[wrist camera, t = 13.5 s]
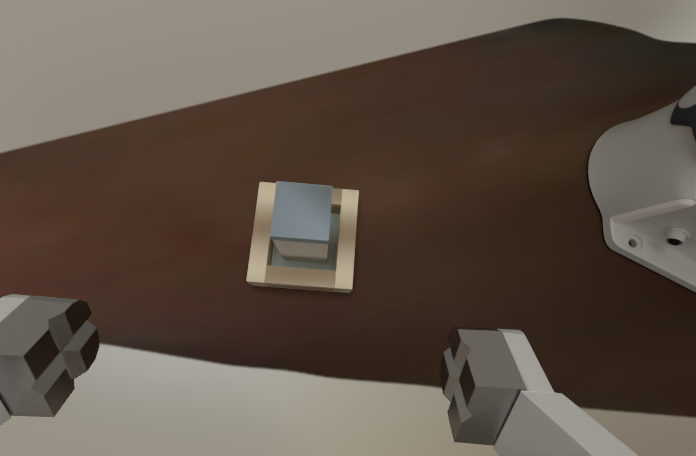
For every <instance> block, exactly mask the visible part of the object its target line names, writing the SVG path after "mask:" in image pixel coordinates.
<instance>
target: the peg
mask: <svg viewBox="0 0 696 456" xmlns="http://www.w3.org/2000/svg"><path fill="white" fill-rule="evenodd" d="M332 193H333V186H326V185H314V184H303V183H292V182H280V181H277V182H276V190H275V198H274V206H273V214H272V222H271V230H270V237H271V239H272V240H273V242H274V243H275V245H276V247H277V249H278V250H279V252H280V254H281V256H282V257H283V259H284V260H288V261H300V262H313V263H326V264H327V254H328V242H329V230H330V217H331V205H332Z"/></svg>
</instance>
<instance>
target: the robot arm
mask: <svg viewBox="0 0 696 456" xmlns="http://www.w3.org/2000/svg"><path fill="white" fill-rule="evenodd" d="M588 177H589V183H590V188H591V191H592V194H593V197H594V199H595V201H596V203H597V205H598V207H599V209H600V212H601V215H602V218H603V232H604V238H605V241H606V244H607V245H608V246H609V248H611V249H612V250H614V251H615V252H617V253H619V254H621V255H623V256H625V257H627V258H629V259H631V260H633V261H635V262H637V263H639V264H641V265H643V266H645V267H647V268H649V269H651V270H653V271H655V272H657V273H659V274H661V275H663V276H665V277H667V278H669V279H671V280H672V281H674V282H676V283H678V284H680V285H682V286H684V287H686V288H688V289H690V290H692V291H694V292H696V86H694V87H693V88H692V89H690V90H689V91H688V92H687V93H686V94H685V95H684V96H683V97H682V98H681V99H680V100H678V101H676V102H674V103H672V104H670V105H668V106H666V107H664V108H662V109H660V110H657V111H655V112H653V113H650V114H648V115H646V116H643V117H641V118H638V119H635V120H632V121H629V122H625V123H621V124H618V125H616V126H614V127H612V128H610V129H609V130H607V131H606V132H605V133H604V134H603V135H602V136H601V137H600V138H599V139H598V140H597V142H596V143H595V145H594V147H593V149H592V151H591V154H590V158H589V164H588ZM629 242H630V243H631V246H630V245H629ZM90 315H91V311H90V309H89V306H88V304H87V302H84V301H81V300H74V299H63V298H52V297H42V296H26V295H16V294H10V295H7V296H4V297H2V298H0V425H2V424H3V423H5V422H6V421H7V420H9V419H10V418H11V416H39V417H54V416H55V415H56V414H57V412H58V411H59V409H60V408H61V407H62V405H63V404H64V403H65V401H66V399H67V398H68V397H69V396H70V394H71V393H72V391H73V390H74V379H75V378H76V377H78V376H80V375H81V374H83V373H85V372H86V371H87V370H88V369H89V368H90V366H91V365H92V363H93V362H94V360H95V358H96V355H97V352H98V348H99V334H98V331H97V328H96V327H94V326H93V325H92V324H91V323H90V322H88V321H87V320H88V318H89V317H90ZM448 341H449V345H450V348H449V349H447V350H446V351H445V352H444V353H443V357H442V361H441V371H440V376H441V385H442V390H443V394H444V395H445V396H446V398H447V399H448V400H449V401H450V402H451V404H450V407H449V410H448V417H449V421H450V426H451V430H452V434H453V438H454V442H461V443H472V444H484V445H494V449H495V450H496V451H497V453H498V454H499V455H500V456H638V455H637V454H636V453H634V452H633V451H632V450H631V449H629V448H628V447H627V446H626V445H625V444H623V443H622V442H621V441H620V440H618V439H617V438H616V437H615V436H613V435H612V434H611V433H610V432H608V431H607V430H606V429H605V428H604V427H602V426H601V425H600V424H599V423H598V422H596V421H595V420H594V419H592V418H591V417H590V416H589V415H588V414H586V413H585V412H584V411H583V410H582V409H580V408H579V407H578V406H577V405H575V404H574V403H573V402H572V401H570V400H569V399H568V398H567V397H566V396H564V395H563V394H562V393H554V391H553V389H552V387H551V385H550V383H549V381H548V379H547V377H546V375H545V373H544V371H543V369H542V367H541V365H540V364H539V362H538V360H537V358H536V356H535V354H534V352H533V350H532V348H531V346H530V344H529V342H528V340H527V338H526V336H525V334H524V333H523V332H522V331H520V330H509V329H490V328H474V327H457V326H453V328H452V329H451V330H450V333H449V336H448Z"/></svg>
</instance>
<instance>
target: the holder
mask: <svg viewBox="0 0 696 456" xmlns="http://www.w3.org/2000/svg"><path fill="white" fill-rule="evenodd" d="M275 190H276V183H267V182H260V184H259V191H258V199H257V206H256V214H255V221H254V228H253V236H252V243H251V251H250V258H249V265H248V273H247V280H246V281H247V282H248V283H250V284H251V285H253V286H264V287H277V288H290V289H304V290H317V291H330V292H344V293H350V292H351V290H352V285H353V270H354V255H355V240H356V224H357V209H358V194H359V190H347V189H336V188H333V193H332V205H331V217H330V230H329V242H328V254H327V264H326V263H313V262H300V261H288V260H284V259H283V257H282V256H281V254H280V252H279V250H278V249H277V247H276V245H275V243H274V242H273V240H272V239H271V237H270V230H271V222H272V214H273V206H274V198H275Z"/></svg>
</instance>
